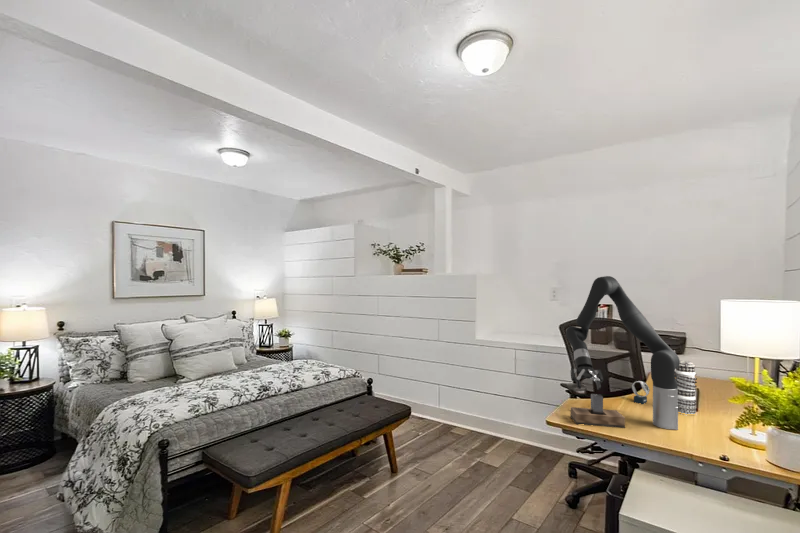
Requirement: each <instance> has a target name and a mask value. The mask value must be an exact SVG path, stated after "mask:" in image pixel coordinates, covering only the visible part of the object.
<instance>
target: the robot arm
mask: <svg viewBox="0 0 800 533" xmlns="http://www.w3.org/2000/svg"><path fill="white" fill-rule="evenodd" d="M605 296H608V297H609V298H610V299H611V301H613V303H614V305H615V307H616V309H617V313H618V316H619V319H620V320H621V323H622V324H623V325H624V326H625V328H626V329H627V330H628V331H629V332H630V333H631V334H632V335H633V336H634V337H635V338H636V339H638V340H639V341H641V342H642V343H643V344H644V345H645V346H646V347H647V349H649V351H650V352H651V354H652V355H651V357H650V378H651V380H652V425H654V426H655V427H658V428H661V429H666V430H677V431H678V430H679V413H678V383H677V381H676V380H675V372H676V368H678V366H679V364H680V361H681V360H680V357H679V356H678V354H677V353H676V352H675V351H674V350H673V349H672V348H671V346H669V345H668V344H667V343H666V342H665V341H664V339H663V338H661V336H660V335H659V334H658V333H657V331H656V330H655V328H654V327H653V326H652V324H651V323H650V322H649V321H648V319H647V318H646V316H644V315H643V313H642V311H640V310H639V309H638V307H637V306H636V305H635V304H634V302H633V301H632V300H631V299H630V297H629V296H628V295H627V294H626V292H625V290H624V289H623V288H622V285H621V284H620V283H619V281H618V280H617V279H616V278H615V277H613V276H609V275H604V276H600V277H597V278H595V279H594V280H593V282H592V284H591V287H590V291H589V292H588V296H587V299H586V301H585V304H584V306H583V308H582V309H581V311H580V313H579V314H578V316H577V318H576V320H575V323H576V324H577V326H579V327H576V326H573V325H571V326H568V327H567V328H566V330H565V337H566V339H567V341H568V343H569V344H570V346H571V348H572V352H573V359H574V362H575V363H574V364H575V368H576V369H575V368H574V367H571V368H570V379H571V382H575V383H576V387H577V388H578V389H579V390H581V388H582V384H581V379H589V380H592V381H593V382H595V385H596V390H597V391H600V390H601V388H602V385H601V384H602V383H603V381H604V376H603V373H602V370H601V369H594V368H593V367H594V366H593V362H592V359H591V356H590V352H589V349H588V345H587V343H586V342H585V341H586V340H587V338H588V334H589V330H590V327H591V325H592V323H593V321H594V320H595V318H596V315H597V312H598V306H599V303H600V302H601V301H602V300H603V298H604V297H605ZM575 374H577V376H576V375H575ZM575 376H576V377H575Z"/></svg>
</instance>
